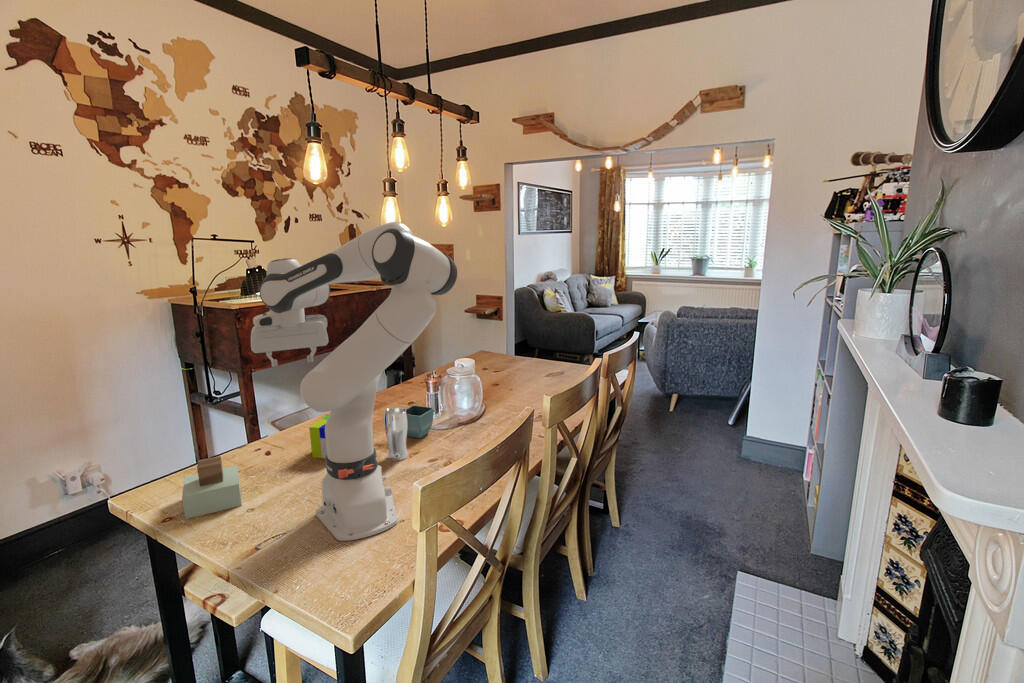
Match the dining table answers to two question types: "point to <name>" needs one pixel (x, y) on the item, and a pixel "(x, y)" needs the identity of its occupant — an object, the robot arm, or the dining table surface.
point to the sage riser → (211, 494)
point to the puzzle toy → (318, 438)
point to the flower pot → (419, 420)
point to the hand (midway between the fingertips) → (292, 364)
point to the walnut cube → (210, 471)
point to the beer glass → (396, 432)
